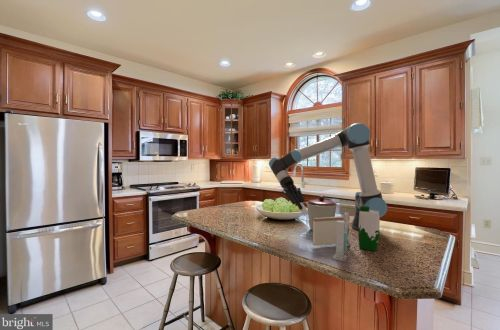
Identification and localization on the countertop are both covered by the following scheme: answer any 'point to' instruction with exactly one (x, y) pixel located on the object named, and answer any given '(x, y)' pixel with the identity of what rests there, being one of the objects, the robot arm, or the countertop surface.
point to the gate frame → (342, 238)
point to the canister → (320, 209)
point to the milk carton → (368, 228)
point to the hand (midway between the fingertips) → (306, 214)
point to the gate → (325, 230)
